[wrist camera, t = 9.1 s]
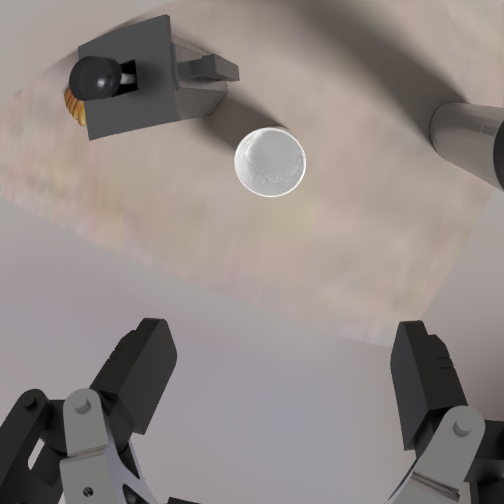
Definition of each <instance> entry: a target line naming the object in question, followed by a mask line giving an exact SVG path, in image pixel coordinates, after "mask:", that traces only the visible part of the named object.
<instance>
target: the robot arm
mask: <svg viewBox="0 0 504 504" xmlns="http://www.w3.org/2000/svg"><path fill="white" fill-rule="evenodd" d="M430 136H431V140H432V143H433V146H434V148H435V149H436V151H437V152H438V154H439V155H440V156H442V157H443V158H444V159H446V160H447V161H449V162H451V163H453V164H455V165H457V166H459V167H461V168H462V169H464V170H466V171H468V172H470V173H472V174H474V175H475V176H477V177H479V178H481V179H483V180H484V181H486V182H488V183H489V184H491V185H493V186H495V187H496V188H498V189H500V190H501V191H503V192H504V108H499V107H492V106H484V105H476V104H467V103H457V102H451V103H446V104H444V105H442V106H441V107H439V108H438V109H437V110H436V112H435V113H434V115H433V117H432V120H431V124H430ZM176 361H177V351H176V347H175V344H174V342H173V339H172V336H171V333H170V330H169V327H168V324H167V321H166V320H165V319H157V318H156V319H155V318H144V319H143V320H142V321H141V323H140V324H139V326H138V327H137V329H136V330H132V331H130V332H129V333H128V334H126V335H125V336H124V337H123V338H122V339H121V340H120V341H119V343H118V345H117V346H116V347H115V351H113V352H112V353H111V355H110V358H109V359H107V361H106V362H105V364H104V365H103V367H102V369H101V370H100V372H99V373H98V375H97V376H96V378H95V379H94V381H93V383H92V384H91V386H90V387H89V388H88V389H79V390H77V391H75V392H73V393H72V394H70V395H69V396H68V397H67V399H66V400H49V399H48V398H47V397H46V395H45V394H44V393H43V392H42V391H41V390H39V389H31V390H28V391H26V392H25V393H23V394H22V395H21V396H20V397H19V399H18V400H17V402H16V403H15V405H14V407H13V408H12V409H11V411H10V413H9V414H8V416H7V417H6V419H5V421H4V422H3V424H2V426H1V427H0V504H58V502H59V500H60V498H61V495H62V493H63V491H64V496H65V501H66V504H158V503H157V501H156V499H155V497H154V496H153V494H152V493H151V491H150V489H149V488H148V486H147V484H146V482H145V480H144V477H143V475H142V472H141V469H140V466H139V463H138V460H137V457H136V454H135V451H134V448H133V444H132V442H131V440H130V437H131V435H132V433H133V432H135V433H138V434H142V435H144V434H145V432H146V430H147V427H148V425H149V423H150V420H151V419H152V416H153V414H154V412H155V410H156V407H157V405H158V403H159V401H160V398H161V396H162V394H163V392H164V390H165V387H166V385H167V383H168V381H169V378H170V376H171V374H172V372H173V370H174V367H175V365H176ZM390 366H391V374H392V379H393V384H394V389H395V394H396V400H397V405H398V411H399V417H400V423H401V430H402V436H403V443H404V450H405V451H407V450H414V449H415V452H416V459H415V460H414V462H413V463H412V465H411V466H410V468H409V469H408V471H407V472H406V474H405V475H404V477H403V478H402V480H401V481H400V483H399V484H398V486H397V487H396V488H395V490H394V491H393V493H392V494H391V495H390V497H389V498H388V499H387V501H386V502H385V503H384V504H457V503H458V501H459V497H460V495H459V494H458V491H459V489H460V487H461V485H462V483H463V482H469V485H470V494H471V504H504V421H503V422H502V421H491V420H485V419H483V417H482V415H481V414H480V413H479V412H478V411H477V410H475V409H474V408H472V407H469V406H468V404H467V401H466V398H465V395H464V393H463V390H462V387H461V384H460V381H459V378H458V376H457V373H456V370H455V368H454V365H453V363H452V360H451V359H450V355H449V353H448V350H447V348H446V345H445V344H444V343H443V342H442V341H441V340H440V339H439V338H438V337H437V336H436V335H435V334H434V335H428V333H427V331H426V328H425V326H424V323H423V322H422V321H421V320H418V321H403V322H400V323H399V325H398V329H397V333H396V338H395V342H394V346H393V350H392V354H391V362H390ZM39 438H40V439H41V440H42V441H43V442H44V443H45V444H44V446H43V448H42V450H41V452H40V454H39V456H38V458H37V460H36V462H35V464H34V466H33V468H32V469H31V470H30V469H29V467H28V459H29V457H30V455H31V453H32V451H33V449H34V447H35V445H36V443H37V441H38V440H39ZM167 504H199V503H194V502H190V501H185V500H180V499H177V498H172V497H169V500H168V503H167Z"/></svg>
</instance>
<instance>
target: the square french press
mask: <svg viewBox="0 0 504 504" xmlns="http://www.w3.org/2000/svg"><path fill="white" fill-rule="evenodd" d="M78 52H79V60H80V59H82V58H84V57H86V56H99V57H108V58H113V59H115V60H116V61H117V62H118V63H119V65H120V67H121V70H122V73H126V74H136V73H137V82H138V90H137V91H135V90H134V84H120V86H119V88H118V89H117V91H116V92H115V93H114V94H113V95H112V96H110V97H109V98H106V99H99V100H90V101H83V102H84V109H85V116H86V123H87V129H88V135H89V141H90V140H94V139H98V138H101V137H105V136H109V135H113V134H119V133H123V132H128V131H132V130H137V129H141V128H146V127H151V126H156V125H160V124H165V123H170V122H175V121H181V120H184V119H189V118H194V117H200V116H206V115H210V114H211V113H212V112H213V110H214V109H215V108H216V106H217V105H218V104H219V103H220V101H221V100H222V99H223V98H224V96H225V95H226V94H227V93H228V88H227V81H229V82H233V81H240V79H239V70H238V66H237V65H235V64H233V63H231V62H230V61H228V60H226V59H224V58H222V57H220V56H218V55H216V54H209V53H208V52H206V51H205V50H203V49H201V48H199V47H197V46H195V45H192V44H190V43H188V42H186V41H183V40H181V39H179V38H176V37H174V36H171V26H170V16H168V15H166V14H165V15H162V16H158V17H155V18H152V19H149V20H145V21H142V22H139V23H136V24H133V25H131V26H128V27H125V28H122V29H120V30H117V31H114V32H112V33H109V34H107V35H104V36H102V37H99V38H97V39H95V40H92V41H90V42H88V43H86V44H83V45H81V46H79V47H78Z"/></svg>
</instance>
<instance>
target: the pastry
mask: <svg viewBox="0 0 504 504" xmlns="http://www.w3.org/2000/svg"><path fill="white" fill-rule="evenodd" d="M64 95H65V102H66V107H67V108H68V109H69V113H70V114H72V115H73V118H74V119H76V120H78V122H79V124H80V125H82V126H86V127H87V123H86V116H85V109H84V102H83V101H80V100H78V99H76V98H75V97H74V96H73V95H72V93H71V91H70V87H69V88H68V90H67V91H66V92H65V94H64Z"/></svg>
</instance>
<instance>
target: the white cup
mask: <svg viewBox="0 0 504 504" xmlns="http://www.w3.org/2000/svg"><path fill="white" fill-rule="evenodd" d="M234 167H235V171H236V174H237V176H238V178H239V180H240V181H241V183H242V184H243V185H244V186H245V187H246V188H247V189H249V190H250V191H251V192H253V193H255V194H258V195H261V196H265V197H277V196H281V195H284V194H286V193H288V192H290V191H292V190H293V189H294V188H295V187H296V186H297V185H298V184H299V183H300V181H301V180H302V178H303V175H304V172H305V168H306V159H305V154H304V151H303V147H302V145H301V143H300V141H299V139H298V138H297V137H296V135H295V134H294V133H292V132H291V131H290V130H289V129H286V128H283V127H279V126H269V127H264V128H261V129H257V130H255V131H252V132H251V133H249V134H248V135H246V136H245V137H244V138H243V139H242V140H241V142H240V143H239V145H238V147H237V149H236V152H235V156H234Z"/></svg>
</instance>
